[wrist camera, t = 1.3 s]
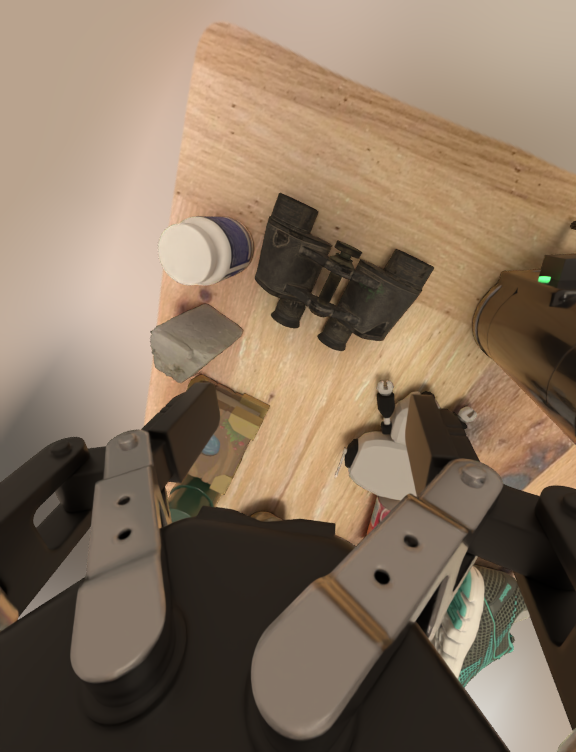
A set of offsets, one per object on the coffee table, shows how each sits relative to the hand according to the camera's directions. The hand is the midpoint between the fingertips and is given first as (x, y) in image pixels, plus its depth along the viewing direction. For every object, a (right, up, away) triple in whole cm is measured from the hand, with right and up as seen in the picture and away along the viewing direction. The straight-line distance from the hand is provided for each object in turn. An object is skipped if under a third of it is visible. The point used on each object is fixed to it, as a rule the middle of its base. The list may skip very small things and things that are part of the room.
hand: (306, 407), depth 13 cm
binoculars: (+4, +11, +20) cm, 24 cm away
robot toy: (+13, -6, +27) cm, 31 cm away
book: (-11, -6, +32) cm, 35 cm away
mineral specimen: (-10, +6, +26) cm, 29 cm away
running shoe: (+20, -37, +33) cm, 54 cm away
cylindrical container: (-15, -16, +38) cm, 44 cm away
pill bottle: (-7, +15, +21) cm, 27 cm away
